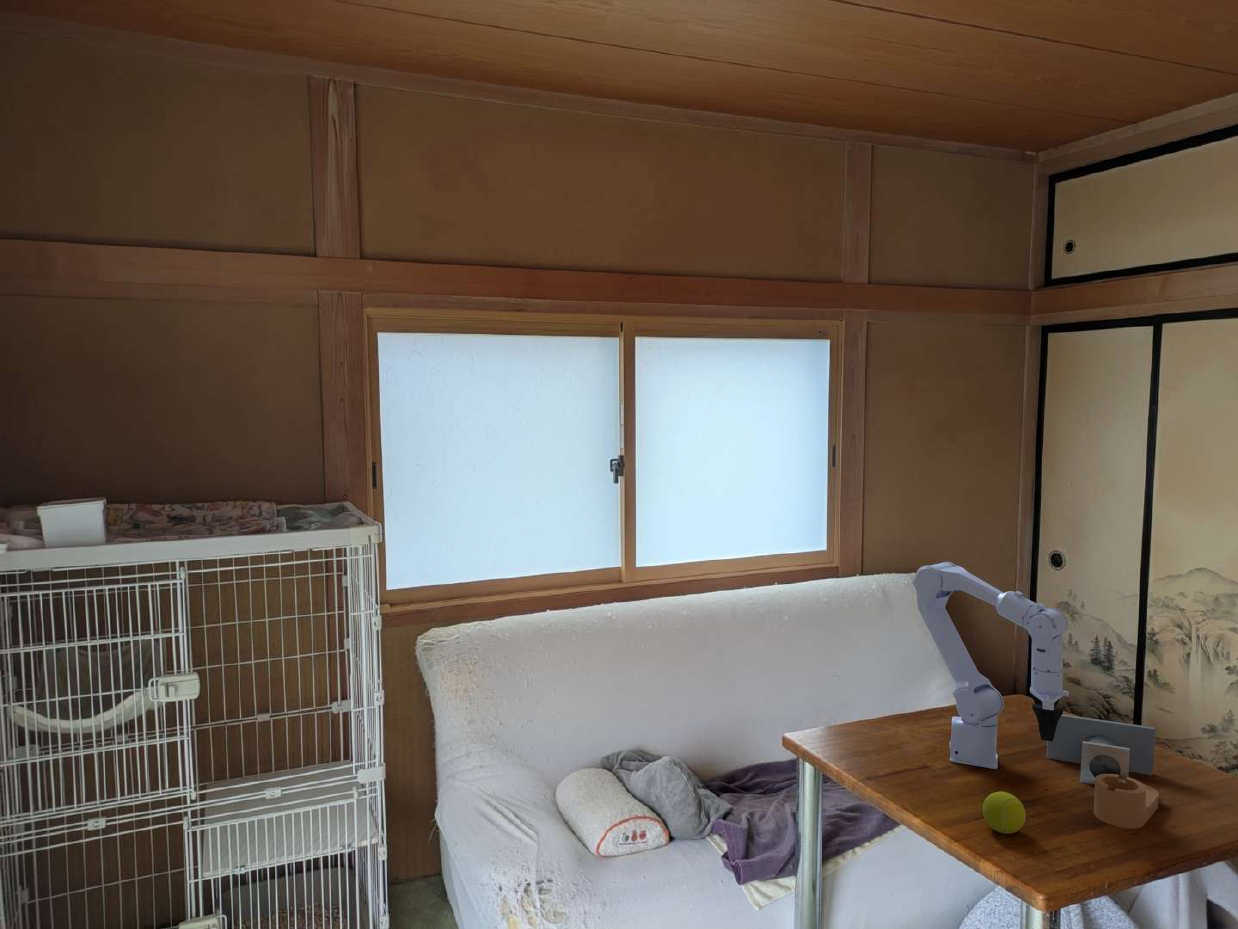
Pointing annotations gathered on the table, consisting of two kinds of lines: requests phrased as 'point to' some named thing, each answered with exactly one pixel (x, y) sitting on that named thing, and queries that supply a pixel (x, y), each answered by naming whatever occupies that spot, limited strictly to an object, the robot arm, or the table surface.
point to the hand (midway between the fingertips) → (1046, 734)
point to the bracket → (1124, 801)
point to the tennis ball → (1004, 812)
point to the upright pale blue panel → (1103, 747)
